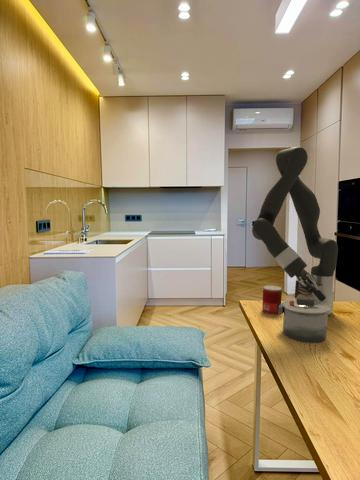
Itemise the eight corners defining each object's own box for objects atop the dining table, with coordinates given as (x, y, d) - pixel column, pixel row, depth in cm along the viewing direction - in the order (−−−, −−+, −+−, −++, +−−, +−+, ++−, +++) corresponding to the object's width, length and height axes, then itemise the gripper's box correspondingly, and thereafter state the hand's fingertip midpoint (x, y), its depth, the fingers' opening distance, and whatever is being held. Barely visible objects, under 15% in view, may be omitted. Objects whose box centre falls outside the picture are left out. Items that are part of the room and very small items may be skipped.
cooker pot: (273, 335, 120) (274, 309, 119) (284, 323, 132) (285, 299, 131) (322, 346, 111) (324, 318, 110) (329, 332, 123) (330, 306, 122)
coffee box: (292, 316, 140) (294, 280, 138) (303, 314, 143) (305, 278, 141) (309, 324, 132) (311, 285, 130) (320, 321, 135) (323, 283, 133)
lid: (277, 309, 118) (277, 301, 117) (289, 298, 131) (289, 291, 131) (325, 316, 109) (325, 308, 109) (332, 304, 122) (332, 297, 122)
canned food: (281, 315, 142) (282, 290, 141) (262, 313, 143) (263, 289, 142) (279, 309, 149) (281, 286, 148) (261, 308, 151) (262, 284, 150)
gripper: (294, 258, 114) (329, 298, 109) (302, 253, 125) (335, 289, 120) (278, 271, 118) (311, 310, 112) (287, 265, 129) (319, 301, 123)
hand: (323, 299), depth 116 cm, fingers closed
